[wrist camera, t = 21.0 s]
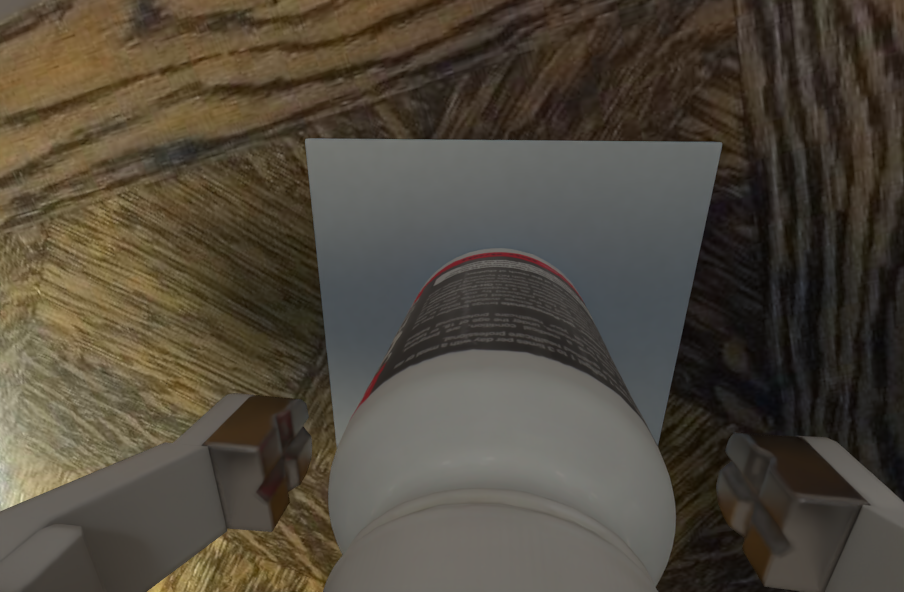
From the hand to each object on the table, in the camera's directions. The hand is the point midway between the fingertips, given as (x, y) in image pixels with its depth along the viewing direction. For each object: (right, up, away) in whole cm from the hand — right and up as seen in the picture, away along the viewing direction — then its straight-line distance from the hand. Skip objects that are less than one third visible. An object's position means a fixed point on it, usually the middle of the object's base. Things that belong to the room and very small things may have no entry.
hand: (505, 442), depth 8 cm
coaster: (0, +2, +5) cm, 6 cm away
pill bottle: (0, +2, +5) cm, 5 cm away
